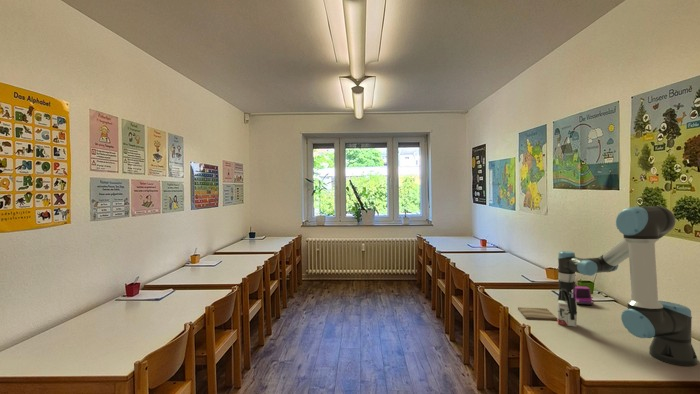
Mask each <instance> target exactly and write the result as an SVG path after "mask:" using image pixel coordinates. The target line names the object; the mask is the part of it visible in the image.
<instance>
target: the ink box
mask: <svg viewBox="0 0 700 394" xmlns="http://www.w3.org/2000/svg"><path fill="white" fill-rule="evenodd" d="M577 307H578V304H576V309H578V308H577ZM568 312H569V309H568V304H567V301H561V300H558V299H557V324H558V325H560V326H561V325H562V326H569V321H568ZM577 319H578V313H577V314H575V326H573V327H575V328H576V327H577ZM569 327H570V326H569Z"/></svg>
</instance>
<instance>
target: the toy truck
mask: <svg viewBox="0 0 700 394" xmlns="http://www.w3.org/2000/svg"><path fill="white" fill-rule="evenodd" d="M572 294H575V302H576V304H577V305H589V306H592V305H594V304H595V303H594V298H593V297H592V293H591V288H590V287H588V286H580V285H579V286H576V285H575V289H572Z"/></svg>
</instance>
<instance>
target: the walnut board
mask: <svg viewBox="0 0 700 394" xmlns="http://www.w3.org/2000/svg"><path fill="white" fill-rule="evenodd" d="M517 311H519V312H520V314H521V315H522V316H523V317H524V318H525V320H538V321H539V320H541V321H558V317H557V316H555V315H554V313H552V312H551V311H550V310H549V309H548V308H546V307H545V308H543V307H542V308H541V307H519V306H518V307H517Z"/></svg>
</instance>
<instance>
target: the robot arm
mask: <svg viewBox="0 0 700 394" xmlns="http://www.w3.org/2000/svg"><path fill="white" fill-rule="evenodd" d="M676 221H677V220H676V216H675V215H674V212H672V211H671V210H670V209H669V208H667V207H664V206H661V205H650V206H630V207H626V208H624V209H622V210H621V211H620V212H619V213H618V214H617V216H616V218H615V226H616V229H617V230H618V231H619V233H621V234H623V235H622V236H623V239H621V240H620V241H619V242H617V243H616V244H615V245H613V246H612V247H611V248H610V249H608V250H607V251H606V252H604V253H603V254H601V255H600V256H598V257H588V258H583V257H582V258H581V257H576V254H575V252H573V251H570V250H561V251H559V252H558V258H557V259H558V260H557V261H558V272H557V274H558V289H559V290H558V296H557V298H558V299H557V301H558V300H561V301H567V304H568V309H569V312H568V321H569V327H574V326H575V314H577V315H578V310H577V309H578V308H577V309H576V302H575V294H572V293H573V289H575V286H576V277H577V275H576V273H577V274H581V275H584V276H591V277H592V276H594V275H595V274H597V273H611V272H615V271H617V270H618V267H619V265H620V264H621V263H623V262H624V261H626V260H627V259H628V260H629V263H628V264H629V277H630V278H629V280H630V292H631V293H630V295H631V298H630V299H629V300H628V301H627V305H626V306H627V308H626V309H624V310H623V312H622V313H621V317H620V319H621V322H622V324H623V326H624V328H625V329H626V330H627V331H628V333H630V334H631V335H632V336H634V337H636V338H639V339H652V341H651V343H650V345H649V347H648V348H649V352H648V353H649V355H651V357H653V358H655V359H657V360H659V361H662V362H665V363H669V364H672V365H676V366H684V367H692V366H693V367H694V366H697V364H698V356H697V354H696V351H695V349H694V347H693V343H692V319H693V317H692V310H691V309H690V307H688V306H685V305H682V304H679V303H676V302H671V301H663V300H659V294H658V279H657V278H658V277H657V276H658V275H657V261H656V259H657V258H656V242H657V241H659V240H661V238H663V237H664V236H666V235H668V233H670V232H671V231H672V230H673V229H674V228H675V226H676V223H677V222H676Z"/></svg>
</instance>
